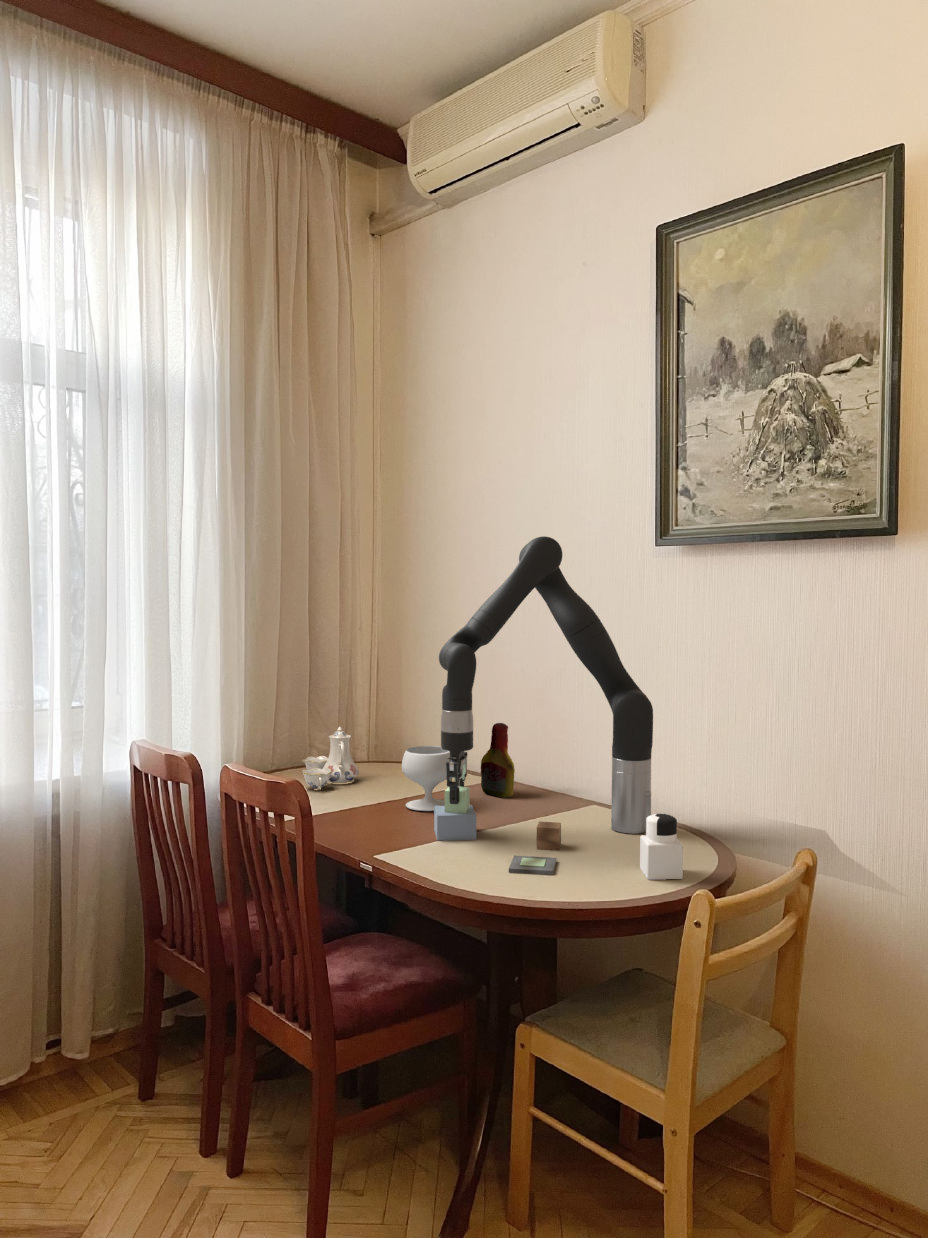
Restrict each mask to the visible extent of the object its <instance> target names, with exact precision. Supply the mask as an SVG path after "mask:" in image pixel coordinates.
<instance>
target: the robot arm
mask: <svg viewBox="0 0 928 1238" xmlns="http://www.w3.org/2000/svg"><path fill="white" fill-rule="evenodd" d="M562 560H563V549H562V547H561V544H560V543H559V542H558V541H557V540H555V539H554V538H552V537H550V536H546V535H545V536H543V535H542V536H538V537H535V538H533V539H531V540H530V541H529V542H528V543H526V544H525V545H524V546H523V548H522V549H521V550H520V551H519V556H518V563H517V565H516V566H515V567H514V569H513V571H512V572H511V574H509V576H508V577H507V578H506V579H505V580H504V581H503V583H502V584H501V585H500V586H499V587H497V589H496V590H495V591H493V593H492V594H491V595H489V597H488V598H487V599H486V600H485V601H484V602H483V603H482V604H481V606H479V608H478V609H477V610H476V612H475V613H474V614H473V615H472V617H470V618H469V620H468V621H467V623H466V624H465V625H464V626H463V627H462V628H460V629H459V630H458V631H456V633H454V635H452V636H451V637H450V638H449V639H448V640H447V641H446V642H445V643H444V645H443V646H442V648H441V649H440V651H439V654H438V662H439V665H440V666H441V667H442V669H444V670H445V671H446V672H447V676H446V684H445V685H444V686H443V688H442V695H441V715H440V746H441V748H442V749H443V750H446V751H447V750H448V751H450V757H449V758H448V759H447V763H446V770H447V779H446V786H447V787H449V788H450V804H458V803H459V788H460V787H465V782H466V779H467V776H468V773H467V772H468V770H467V769H468V767H467V766H468V765H467V764H468V751H471V750H473V748H474V715H473V688H474V683H475V677H476V672H477V656H476V652H477V651H478V650H479V649H480V648H481V647H484V646H486V645H488V644H490V643H491V641H493V640H494V638H495V637H496V636H497V634H498V633H499V632H500V631H501V629H502V628H503V627H504V626H505V625H506V624H507V622H508V621H509V619H511V617H512V615H513V614H514V613H515V612H516V610H517V609H518V608H519V606H520V605H521V604H522V603H523V601H524V600H525V599H526V598H527V597H528V595H529V594H530V593H531V592H533V590H534V589H536V591H537V592H538V594H539V595H540V596H541V598H542V599H543V601H544V602H545V604H546V606H547V607H548V609H549V611H550V613H551V615H552V616H553V619H554V620H555V623H556V624H557V625H558V627H559V629H560V631H561V632H562V634H563V636H564V638H565V640H566V641H567V642H568V644H569V645H570V647H571V649H572V650H573V652H574V654H575V655H576V657H577V658H578V659H579V660H580V662H581V663H582V665H583V666H584V667H585V668H586V669H587V671H588V672H589V673H590V674H591V675H592V677H594V679H595V680H596V682H597V683H598V685H599V686H600V688H601V690H602V692H603V695H604V697H605V698H606V700H607V702H608V704H609V707H610V709H611V712H612V717H613V718H612V744H611V745H612V746H611V806H610V808H611V816H610V817H611V818H610V823H611V824H610V827H611V829H612V830H614V831H615V832H618V833H621V834H622V833H624V834H633V835H634V834H635V835H636V834H637V835H638V834H646V818H647V817H648V816H650V815H652V749H653V740H654V739H653V738H654V737H653V736H654V735H653V734H654V709H653V705H652V703H651V700H650V699H649V698H648V696H647V695H646V694H645V693H644V692H643V691H642V690H641V688H640V687H639V685H638V684H637V683H636V682H635V680H634V679H633V678H632V676H631V675H630V674H629V672H628V671H627V669H626V668H625V666H624V664H623V662H622V661H621V658H620V656H619V653H618V651H617V649H616V647H615V644H614V643H613V640H612V638H611V636H610V634H609V632H608V631H607V629H606V627H605V626H604V624H603V622H602V621H601V619H600V617H599V616H598V614H597V613H596V612H595V611H594V609H593V608H592V607H591V606H590V605H589V604H588V603H587V601H585V600H584V599H583V598H582V596H580V595H579V594H578V593H577V592H576V591H575V590H574V589H573V588H572V587H571V585H570V584H569V582H568V581H567V579H566V578H565V575H564V574H563V572H562V570H561V568H560V566H561V565H562ZM453 780H454V781H453Z"/></svg>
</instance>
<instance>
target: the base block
mask: <svg viewBox="0 0 928 1238" xmlns="http://www.w3.org/2000/svg"><path fill="white" fill-rule="evenodd" d="M433 815H434V816H433V817H434V818H433V819H434V820H433V822H434V823H433V830H434V834H435V838H436V842H439V841H440V842H441V841H472V840H474V841H475V840H477V813H476V810H475V809H474V807H473V805H472V804H469V809H468V811H467V812H466V813H449V812H445V806H434V811H433Z"/></svg>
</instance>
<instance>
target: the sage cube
mask: <svg viewBox="0 0 928 1238" xmlns="http://www.w3.org/2000/svg"><path fill="white" fill-rule="evenodd" d="M444 800H445V812H449V813H466V812H467V811H468V809H469V805H470V786H464V787H460V788H459V803H458V804H450V788H449V787H447V788H446V789H445V790H444Z"/></svg>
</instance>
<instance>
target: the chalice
mask: <svg viewBox="0 0 928 1238" xmlns="http://www.w3.org/2000/svg"><path fill="white" fill-rule="evenodd" d="M449 757H450V751H448V750H447V751H446V750H443V749H442V748H441V745H440V746H439V745H418V746H411V747H408V748H406V750H405V752H404V754H403V757H402V761H401V771H402V773H403V774H404V776H405V778H407V779H409V780H410V781H412V782H414V783H416V784H417V785H419V786H421V788H422V789H423V790H424V793H425V794H424V797H423V798H421V799H414V800H411V801H408V802H407V803H406V804H405V806H404V807H406V808H407V809H409V810H413V811H418V812H434V806H445V799H439V798H437V799H436V798H434V797H433V791H434V789H435V788H436V787H437V786H438V785H440V784H441V783H442V782H445V781H447V770H446V763H447V759H448V758H449Z"/></svg>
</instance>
